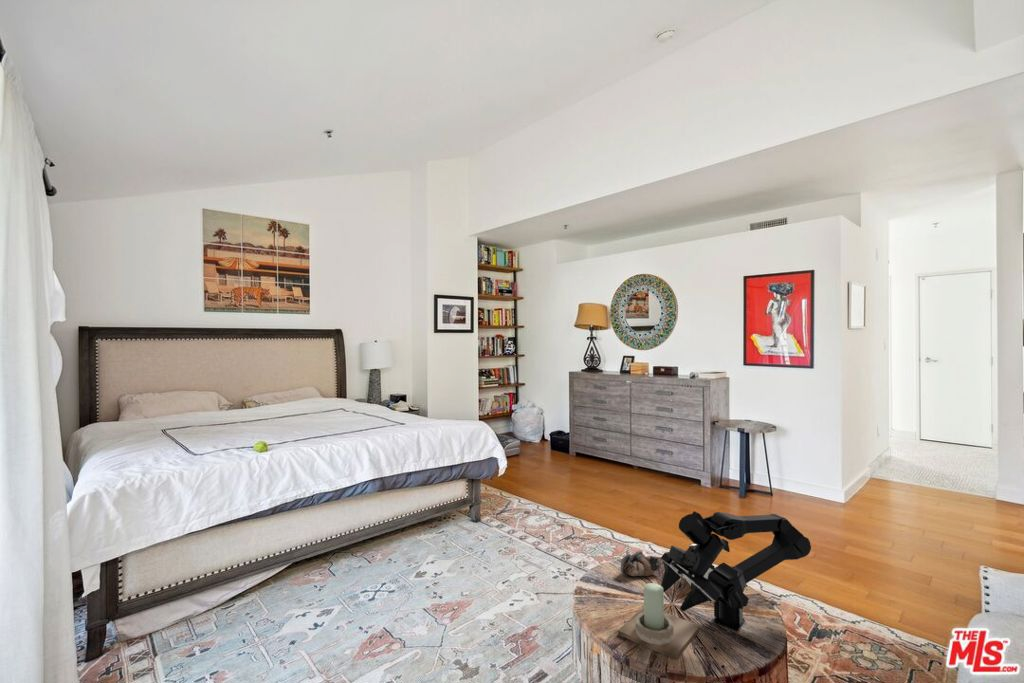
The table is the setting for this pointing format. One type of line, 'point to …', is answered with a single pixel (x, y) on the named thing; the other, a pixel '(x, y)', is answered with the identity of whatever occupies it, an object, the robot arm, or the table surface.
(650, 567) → the dark brown lumpy piece
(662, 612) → the pale green peg
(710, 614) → the table surface
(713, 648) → the table surface
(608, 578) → the table surface
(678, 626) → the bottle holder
